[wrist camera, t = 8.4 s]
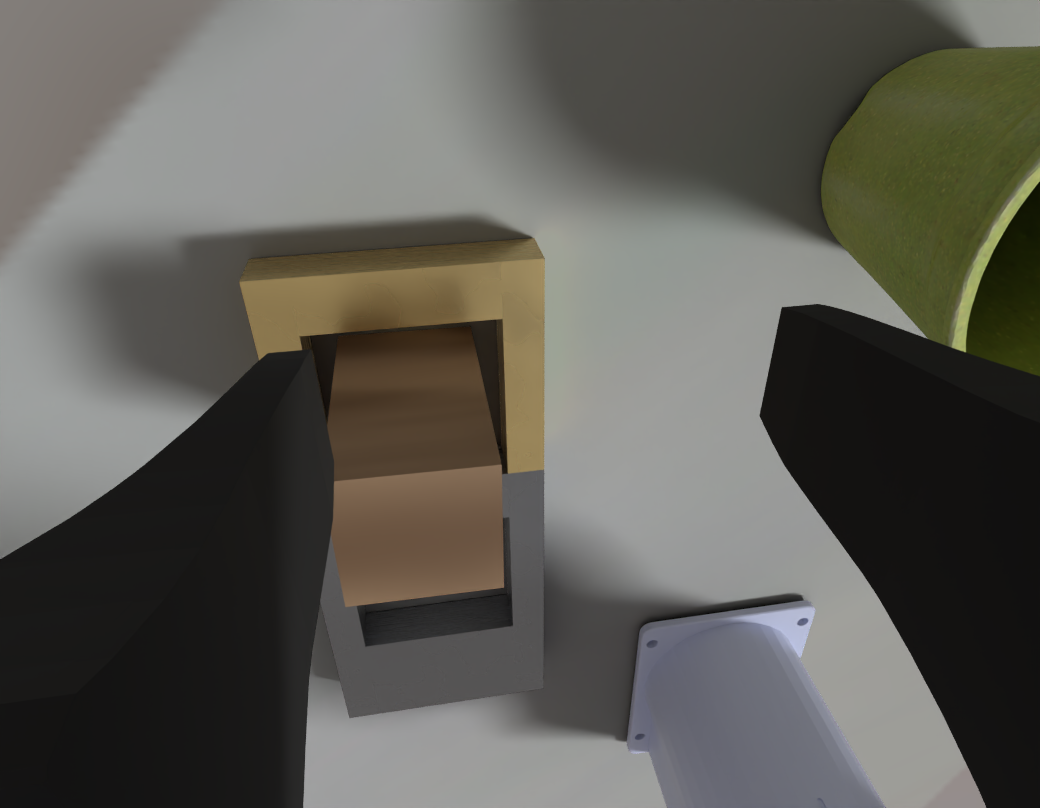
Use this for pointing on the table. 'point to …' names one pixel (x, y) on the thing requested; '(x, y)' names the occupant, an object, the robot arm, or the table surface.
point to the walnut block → (413, 468)
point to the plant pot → (949, 197)
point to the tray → (520, 342)
